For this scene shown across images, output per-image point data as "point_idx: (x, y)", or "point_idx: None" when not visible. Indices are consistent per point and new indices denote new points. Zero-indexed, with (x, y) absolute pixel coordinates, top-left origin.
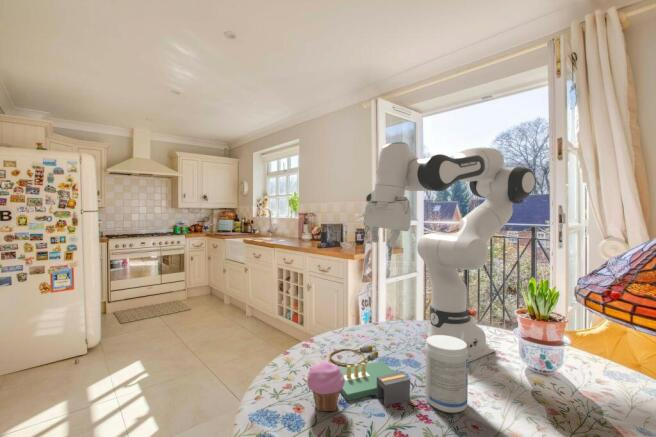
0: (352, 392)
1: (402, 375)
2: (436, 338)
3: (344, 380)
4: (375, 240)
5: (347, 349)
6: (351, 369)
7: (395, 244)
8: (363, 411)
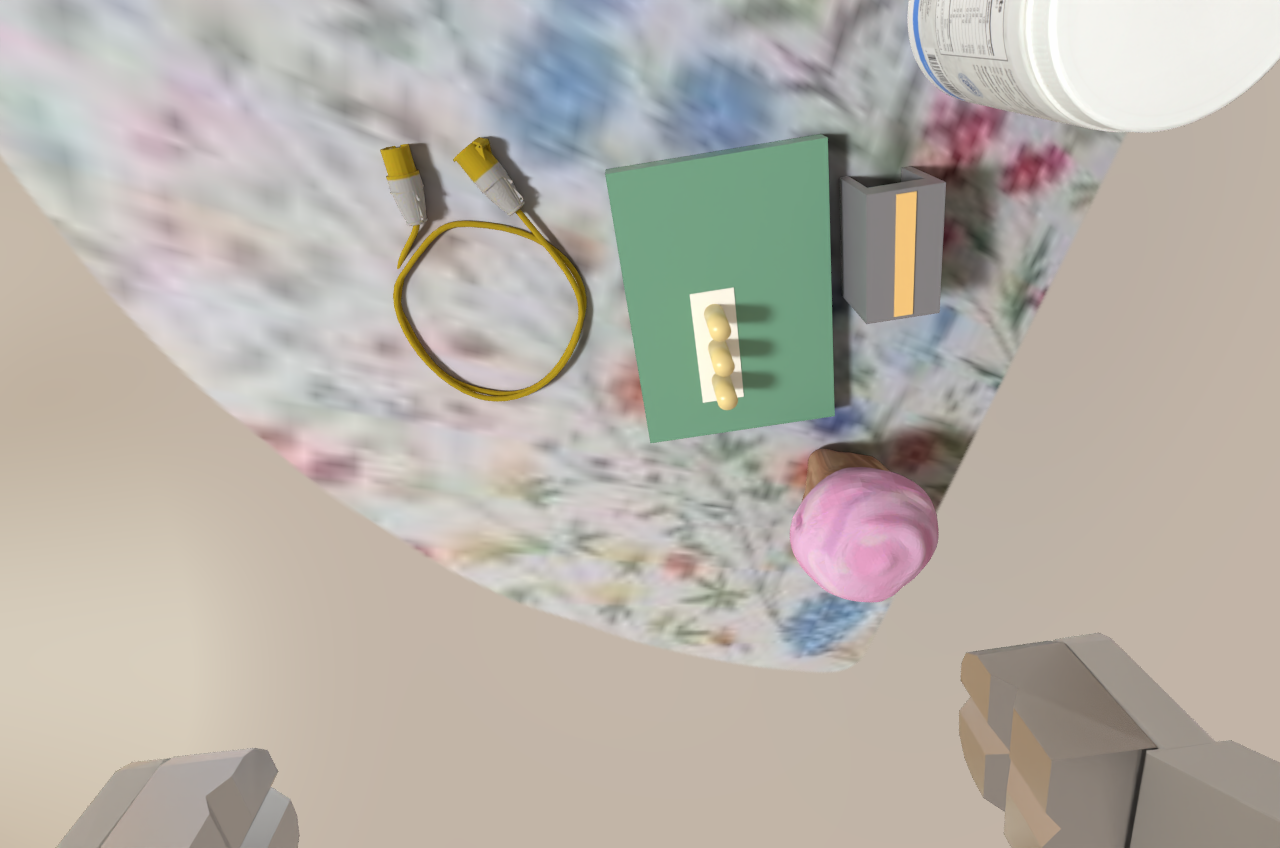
0: (829, 395)
1: (904, 203)
2: (1109, 25)
3: (900, 479)
4: (264, 840)
5: (400, 290)
6: (659, 350)
7: (1129, 658)
8: (905, 370)
